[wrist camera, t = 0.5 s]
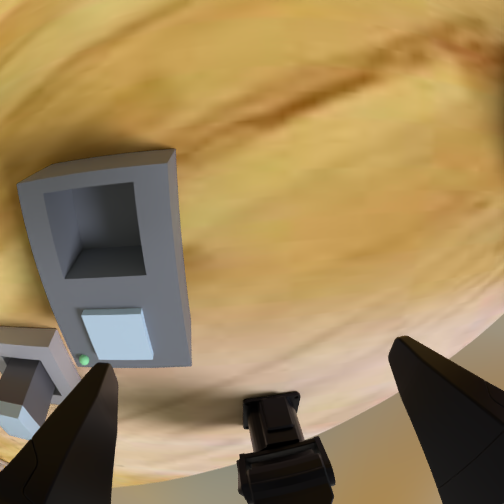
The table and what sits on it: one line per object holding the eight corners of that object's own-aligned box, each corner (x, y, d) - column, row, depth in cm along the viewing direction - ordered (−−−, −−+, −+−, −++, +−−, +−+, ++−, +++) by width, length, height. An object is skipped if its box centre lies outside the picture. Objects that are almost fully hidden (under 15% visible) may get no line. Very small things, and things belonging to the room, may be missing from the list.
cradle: (86, 389, 27) (82, 407, 25) (25, 383, 26) (19, 398, 24) (56, 328, 23) (48, 347, 21) (-9, 325, 22) (-18, 341, 20)
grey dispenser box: (191, 321, 25) (191, 372, 20) (91, 324, 24) (75, 372, 19) (175, 148, 18) (166, 165, 14) (52, 164, 17) (11, 187, 12)
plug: (57, 380, 25) (39, 442, 18) (29, 377, 24) (9, 435, 17) (42, 354, 23) (17, 418, 16) (13, 351, 23) (-13, 411, 16)
